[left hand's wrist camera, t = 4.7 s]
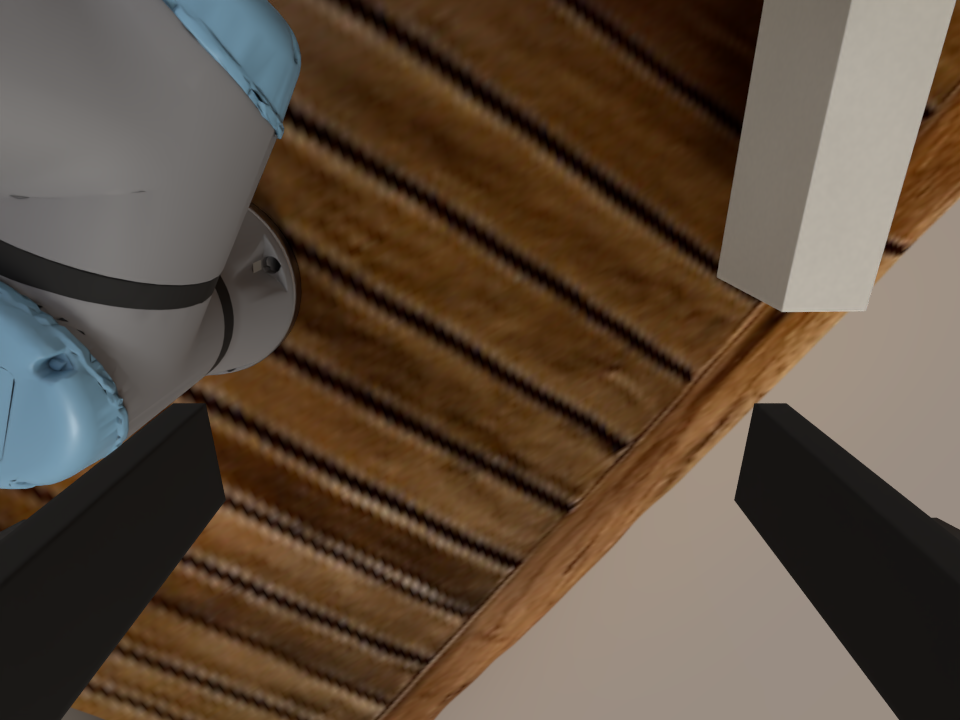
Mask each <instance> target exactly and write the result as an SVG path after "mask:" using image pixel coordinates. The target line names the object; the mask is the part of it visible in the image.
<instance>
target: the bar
mask: <svg viewBox="0 0 960 720" xmlns="http://www.w3.org/2000/svg"><path fill="white" fill-rule="evenodd" d="M955 2H956V0H764V4H763V10H762V16H761V22H760V28H759V33H758V39H757V45H756V51H755V57H754V63H753V68H752V74H751V80H750V86H749V92H748V98H747V103H746V109H745V115H744V121H743V127H742V133H741V138H740V144H739V150H738V156H737V162H736V168H735V173H734V179H733V185H732V191H731V197H730V202H729V208H728V214H727V220H726V226H725V232H724V237H723V243H722V249H721V255H720V261H719V267H718V272H717V277H718V278H720V279H721V280H723V281H725V282H727V283H729V284H731V285H733V286H735V287H736V288H738V289H740V290H742V291H744V292H746V293H748V294H750V295H751V296H753V297H755V298H757V299H759V300H761V301H763V302H765V303H767V304H768V305H770V306H772V307H774V308H776V309H778V310H780V311H782V312H826V311H866V310H867V306H868V303H869V299H870V296H871V292H872V289H873V286H874V282H875V279H876V275H877V272H878V268H879V265H880V261H881V258H882V254H883V251H884V248H885V244H886V241H887V237H888V234H889V230H890V227H891V223H892V220H893V216H894V213H895V210H896V206H897V203H898V199H899V196H900V192H901V189H902V185H903V182H904V178H905V175H906V172H907V168H908V165H909V161H910V158H911V154H912V151H913V147H914V144H915V140H916V137H917V134H918V130H919V127H920V123H921V120H922V116H923V113H924V109H925V106H926V102H927V99H928V96H929V92H930V89H931V85H932V82H933V78H934V75H935V71H936V68H937V64H938V61H939V58H940V54H941V51H942V47H943V44H944V40H945V37H946V33H947V30H948V27H949V23H950V20H951V16H952V13H953V9H954V6H955Z"/></svg>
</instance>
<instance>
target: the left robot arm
mask: <svg viewBox="0 0 960 720" xmlns="http://www.w3.org/2000/svg"><path fill="white" fill-rule="evenodd" d="M300 67H301V54H300V49H299V45H298V43H297V40H296V37H295V35H294V33H293V31H292V30H291V28H290V27H289V25H288V24H287V22H286V21H285V20H284V18H283V17H282V16H281V15H280V14H279V12H278V11H277V10H276V9H275V8H274V7H273V6H272V5H271V4H270V3H269V2H268V1H267V0H0V488H3V489H26V488H31V487H34V486H36V485H50V484H54V483H57V482H60V481H62V480H65V479H67V478H69V477H71V476H73V475H75V474H76V473H78V472H79V471H81V470H83V469H84V468H86V467H88V466H89V465H91V464H93V463H95V462H96V461H98V460H100V459H102V458H104V459H103V460H101V461H100V462H99V463H98V464H96V465H95V466H94V467H93V468H91V469H90V470H89V471H88V472H86V473H85V474H84V475H82V476H81V477H80V478H79V479H77V480H76V481H75V482H74V483H72V484H71V485H70V486H69V487H67V488H66V489H65V490H63V491H62V492H61V493H60V494H58V495H57V496H56V497H55V498H53V499H52V500H51V501H50V502H48V503H47V504H46V505H44V506H43V507H42V508H41V509H39V510H38V511H37V512H36V513H34V514H33V515H32V516H31V517H29V518H28V519H27V520H22V521H20V522H18V523H17V524H15V525H13V526H11V527H9V528H7V529H5V530H3V531H1V532H0V720H61V719H62V718H63V716H64V715H65V713H66V712H67V711H68V709H69V708H70V707H71V706H72V704H73V703H74V702H75V700H76V699H77V698H78V696H79V695H80V694H81V692H82V691H83V690H84V688H85V687H86V686H87V684H88V683H89V682H90V680H91V679H92V678H93V676H94V675H95V674H96V672H97V671H98V670H99V668H100V667H101V666H102V664H103V663H104V662H105V660H106V659H107V658H108V656H109V655H110V654H111V652H112V651H113V650H114V648H115V647H116V646H117V644H118V643H119V642H120V640H121V639H122V638H123V636H124V635H125V634H126V632H127V631H128V630H129V628H130V627H131V626H132V624H133V623H134V622H135V620H136V619H137V618H138V616H139V615H140V614H141V612H142V611H143V610H144V608H145V607H146V606H147V604H148V603H149V602H150V600H151V599H152V598H153V596H154V595H155V594H156V592H157V591H158V590H159V588H160V587H161V586H162V584H163V583H164V582H165V580H166V579H167V578H168V576H169V575H170V574H171V572H172V571H173V570H174V568H175V567H176V566H177V564H178V563H179V562H180V560H181V559H182V558H183V556H184V555H185V554H186V552H187V551H188V550H189V548H190V547H191V546H192V544H193V543H194V542H195V540H196V539H197V538H198V536H199V535H200V534H201V532H202V531H203V530H204V528H205V527H206V526H207V524H208V523H209V522H210V520H211V519H212V518H213V516H214V515H215V514H216V512H217V511H218V510H219V508H220V507H221V506H222V504H223V503H224V502H225V500H226V499H225V494H224V490H223V485H222V480H221V475H220V470H219V466H218V461H217V456H216V451H215V446H214V441H213V437H212V432H211V427H210V422H209V417H208V413H207V408H206V403H174V404H172V405H171V406H170V407H168V408H167V409H166V410H165V411H163V412H162V413H161V414H160V415H158V416H157V417H156V418H155V419H153V420H152V421H151V422H149V423H148V424H147V425H146V426H144V427H143V428H142V429H141V430H139V431H138V432H137V433H136V434H134V435H133V436H132V437H131V438H129V439H128V440H127V441H125V442H124V443H123V441H124V440H126V439H127V438H128V437H129V436H131V435H132V434H133V433H134V432H136V431H137V430H138V429H139V428H141V427H142V426H143V425H144V424H146V423H147V422H148V421H149V420H151V419H152V418H153V417H154V416H156V415H157V414H158V413H159V412H161V411H162V410H163V409H164V408H166V407H167V406H168V405H169V404H171V403H172V402H173V401H174V400H176V399H177V398H178V397H179V396H181V395H182V394H183V393H184V392H186V391H187V390H188V389H189V388H191V387H192V386H193V385H194V384H196V383H197V382H198V381H199V380H201V379H202V378H203V377H204V376H206V375H218V374H226V373H231V372H236V371H240V370H243V369H246V368H248V367H251V366H253V365H255V364H257V363H258V362H260V361H262V360H263V359H264V358H266V357H267V356H268V355H269V354H271V353H272V352H273V351H274V350H275V349H276V348H277V347H278V346H279V345H280V344H281V343H282V342H283V341H284V340H285V339H286V337H287V336H288V334H289V333H290V331H291V330H292V328H293V326H294V324H295V321H296V319H297V316H298V312H299V308H300V302H301V280H300V274H299V269H298V265H297V262H296V259H295V256H294V254H293V252H292V250H291V247H290V246H289V244H288V242H287V240H286V238H285V237H284V235H283V234H282V233H281V231H280V230H279V228H278V227H277V226H276V225H275V223H274V222H273V221H272V220H271V219H270V218H269V217H268V216H267V215H266V214H265V213H264V212H263V211H261V210H260V209H259V208H258V207H257V206H255V205H254V204H253V203H251V200H252V198H253V196H254V193H255V191H256V188H257V186H258V183H259V181H260V178H261V176H262V173H263V171H264V169H265V166H266V164H267V161H268V159H269V156H270V154H271V151H272V149H273V146H274V144H275V142H276V139H277V138H278V139H281V138H282V135H283V133H284V127H283V124H282V122H283V119H284V116H285V113H286V111H287V108H288V105H289V102H290V99H291V96H292V94H293V91H294V88H295V85H296V82H297V79H298V76H299V73H300ZM122 443H123V444H122ZM121 444H122V445H121ZM107 455H108V456H107ZM734 500H735V502H736V503H737V504H738V506H739V507H740V508H741V510H742V511H743V512H744V514H745V515H746V516H747V518H748V519H749V520H750V522H751V523H752V524H753V526H754V527H755V528H756V530H757V531H758V532H759V534H760V535H761V536H762V538H763V539H764V540H765V542H766V543H767V544H768V546H769V547H770V548H771V550H772V551H773V552H774V554H775V555H776V556H777V558H778V559H779V560H780V562H781V563H782V564H783V566H784V567H785V568H786V570H787V571H788V572H789V574H790V575H791V576H792V578H793V579H794V580H795V582H796V583H797V584H798V585H799V587H800V588H801V590H802V591H803V592H804V594H805V595H806V596H807V598H808V599H809V600H810V602H811V603H812V604H813V606H814V607H815V608H816V610H817V611H818V612H819V614H820V615H821V616H822V618H823V619H824V620H825V621H826V623H827V624H828V626H829V627H830V628H831V630H832V631H833V632H834V633H835V635H836V636H837V638H838V639H839V640H840V642H841V643H842V644H843V645H844V647H845V648H846V650H847V651H848V652H849V654H850V655H851V656H852V658H853V659H854V660H855V662H856V663H857V664H858V666H859V667H860V668H861V670H862V671H863V672H864V674H865V675H866V676H867V678H868V679H869V680H870V681H871V683H872V684H873V685H874V687H875V688H876V690H877V691H878V692H879V694H880V695H881V696H882V697H883V699H884V700H885V702H886V703H887V704H888V706H889V707H890V708H891V710H892V711H893V712H894V713H895V715H896V716H897V718H898V719H899V720H960V530H959V529H957V528H955V527H953V526H952V525H950V524H948V523H946V522H944V521H942V520H940V519H938V518H931V517H929V516H928V515H927V514H926V513H924V512H923V511H922V510H921V509H919V508H918V507H917V506H915V505H914V504H913V503H912V502H910V501H909V500H908V499H907V498H905V497H904V496H903V495H902V494H900V493H899V492H898V491H897V490H895V489H894V488H893V487H891V486H890V485H889V484H888V483H886V482H885V481H884V480H883V479H881V478H880V477H879V476H878V475H876V474H875V473H874V472H872V471H871V470H870V469H869V468H867V467H866V466H865V465H864V464H862V463H861V462H860V461H859V460H857V459H856V458H855V457H854V456H852V455H851V454H850V453H848V452H847V451H846V450H845V449H843V448H842V447H841V446H840V445H838V444H837V443H836V442H835V441H833V440H832V439H831V438H829V437H828V436H827V435H826V434H824V433H823V432H822V431H821V430H819V429H818V428H817V427H816V426H814V425H813V424H812V423H810V422H809V421H808V420H807V419H805V418H804V417H803V416H802V415H800V414H799V413H798V412H797V411H795V410H794V409H793V408H792V407H790V406H789V405H788V404H786V403H754V408H753V413H752V417H751V422H750V427H749V432H748V437H747V441H746V446H745V451H744V456H743V461H742V466H741V470H740V475H739V480H738V485H737V490H736V494H735V499H734Z"/></svg>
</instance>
